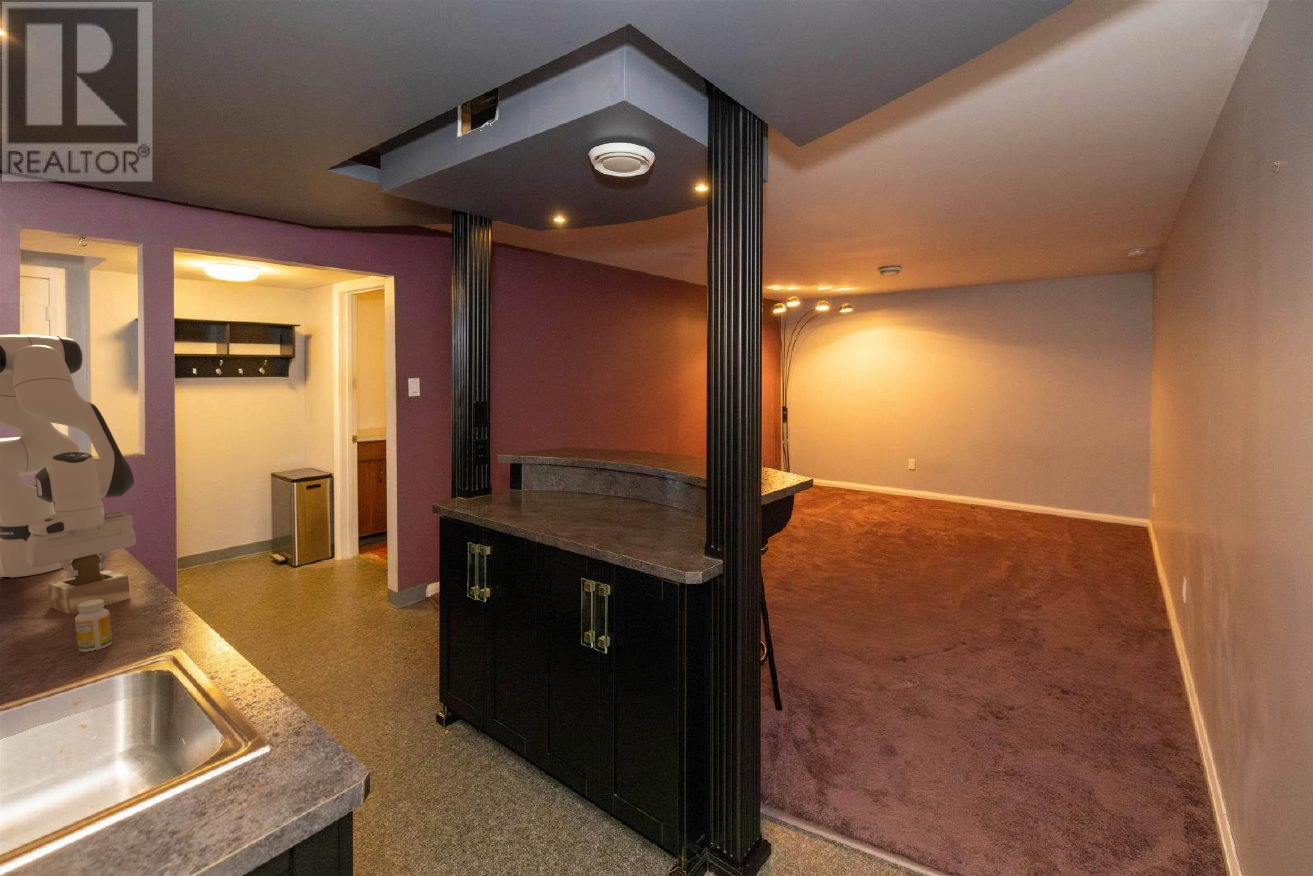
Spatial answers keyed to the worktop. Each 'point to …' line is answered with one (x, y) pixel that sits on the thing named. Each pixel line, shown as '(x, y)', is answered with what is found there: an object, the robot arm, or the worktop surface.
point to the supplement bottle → (93, 626)
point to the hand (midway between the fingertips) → (87, 573)
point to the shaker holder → (88, 591)
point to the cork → (87, 570)
